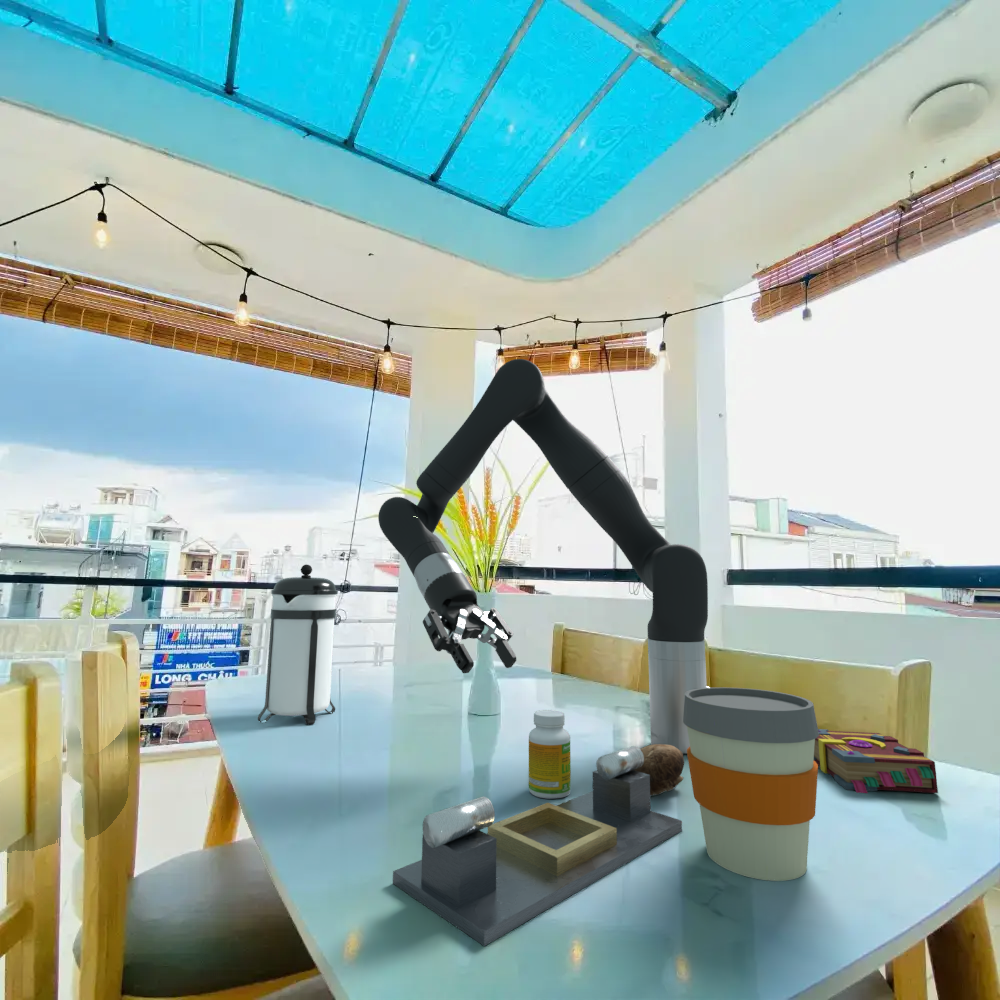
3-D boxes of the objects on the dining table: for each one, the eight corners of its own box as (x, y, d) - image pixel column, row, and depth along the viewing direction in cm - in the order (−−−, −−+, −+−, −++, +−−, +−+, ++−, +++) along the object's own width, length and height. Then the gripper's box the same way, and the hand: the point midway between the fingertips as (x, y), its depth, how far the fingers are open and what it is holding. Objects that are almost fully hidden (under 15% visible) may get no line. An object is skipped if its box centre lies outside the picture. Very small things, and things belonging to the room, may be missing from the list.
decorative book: (883, 762, 87) (880, 728, 88) (947, 801, 71) (942, 759, 72) (803, 758, 89) (801, 724, 89) (849, 795, 73) (846, 754, 74)
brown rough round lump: (699, 760, 75) (672, 722, 75) (700, 804, 68) (670, 762, 68) (648, 780, 79) (622, 744, 78) (644, 824, 71) (615, 785, 71)
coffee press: (352, 719, 110) (360, 564, 114) (266, 730, 101) (277, 562, 105) (325, 704, 124) (332, 566, 129) (247, 712, 115) (257, 564, 120)
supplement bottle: (569, 801, 69) (568, 718, 71) (525, 798, 70) (525, 716, 72) (572, 786, 74) (571, 709, 76) (531, 783, 75) (531, 707, 77)
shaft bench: (594, 798, 70) (593, 736, 71) (684, 829, 62) (681, 757, 63) (387, 885, 50) (391, 795, 51) (479, 949, 41) (480, 839, 42)
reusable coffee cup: (855, 867, 53) (842, 702, 56) (779, 907, 47) (768, 717, 49) (737, 820, 64) (730, 683, 66) (661, 847, 57) (656, 693, 59)
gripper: (418, 569, 86) (466, 653, 76) (487, 571, 96) (537, 646, 86) (398, 603, 89) (441, 689, 79) (466, 602, 99) (512, 678, 89)
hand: (491, 666), depth 82 cm, fingers open, 8 cm apart
